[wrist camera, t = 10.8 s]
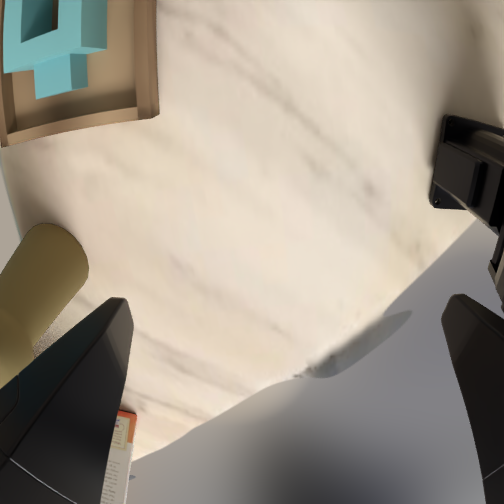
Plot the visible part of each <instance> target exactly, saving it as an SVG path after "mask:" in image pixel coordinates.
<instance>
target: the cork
mask: <svg viewBox="0 0 504 504" xmlns="http://www.w3.org/2000/svg"><path fill="white" fill-rule="evenodd" d="M88 271H89V266H88V261H87V256H86V254H85V252H84V250H83V248H82V246H81V245H80V244H79V242H78V241H77V240H76V239H75V238H74V236H73V235H71V234H70V233H69V232H67V231H66V230H65V229H63V228H61V227H58V226H56V225H53V224H43V223H42V224H39V225H37V226H34V227H33V228H32V229H31V230H30V231H29V232H28V233H27V234H26V236H25V237H24V239H23V240H22V242H21V243H20V244H19V246H18V247H17V249H16V250H15V252H14V254H13V255H12V257H11V258H10V260H9V261H8V263H7V264H6V266H5V268H4V269H3V271H2V273H1V274H0V388H2V387H3V386H4V385H5V384H7V383H8V382H9V381H10V380H11V379H12V378H13V377H15V376H16V375H18V374H19V372H20V371H22V370H23V369H24V368H25V367H26V366H27V365H29V364H30V363H31V362H32V361H33V360H34V352H33V347H34V346H35V344H36V343H37V342H38V340H39V339H40V338H41V336H42V335H43V334H44V332H45V331H46V330H47V329H48V327H49V326H50V325H51V324H52V322H53V321H54V320H55V319H56V317H57V316H58V315H59V314H60V312H61V311H62V310H63V309H64V307H65V306H66V305H67V304H68V303H69V301H70V300H71V299H72V298H73V297H74V295H75V294H76V293H77V292H78V291H79V289H80V288H81V287H82V286H83V285H84V283H85V281H86V280H87V278H88Z"/></svg>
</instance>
